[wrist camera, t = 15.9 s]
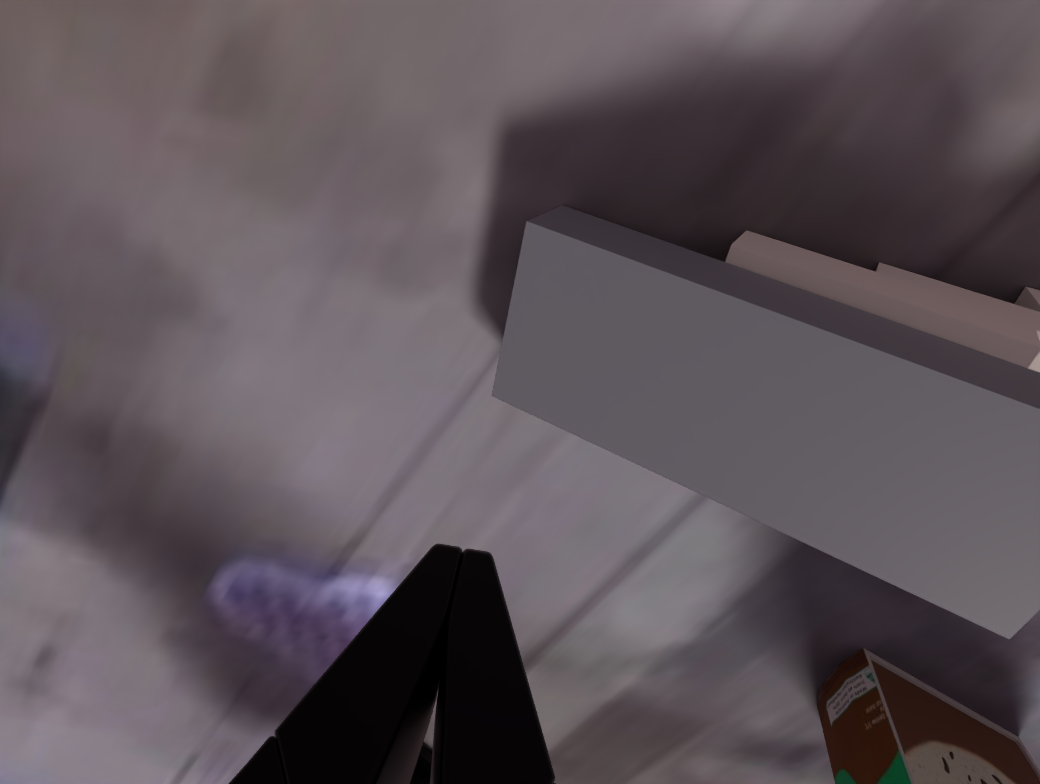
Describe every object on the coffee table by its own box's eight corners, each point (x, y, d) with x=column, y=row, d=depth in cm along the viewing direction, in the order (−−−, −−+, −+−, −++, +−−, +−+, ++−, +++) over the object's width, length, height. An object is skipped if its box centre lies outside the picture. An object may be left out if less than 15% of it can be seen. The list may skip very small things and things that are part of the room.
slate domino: (561, 204, 16) (1151, 411, 12) (524, 367, 19) (996, 578, 15) (526, 221, 15) (1189, 463, 11) (491, 395, 17) (1009, 639, 13)
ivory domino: (747, 230, 16) (1032, 322, 14) (686, 390, 19) (917, 489, 17) (731, 244, 15) (1042, 347, 13) (668, 413, 18) (915, 523, 15)
